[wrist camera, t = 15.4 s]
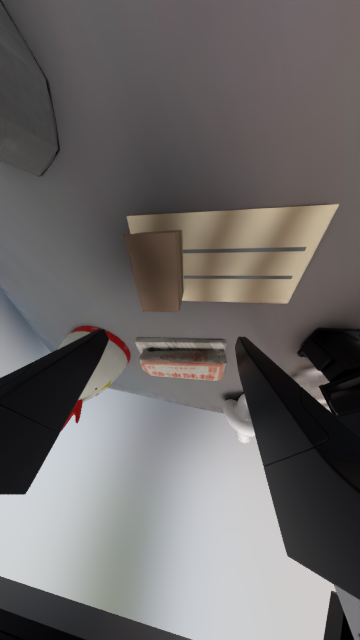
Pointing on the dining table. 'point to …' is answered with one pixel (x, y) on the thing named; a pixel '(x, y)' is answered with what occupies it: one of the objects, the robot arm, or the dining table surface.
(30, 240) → the dining table surface
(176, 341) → the packaged product
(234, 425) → the white knot sculpture
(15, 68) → the coffeepot
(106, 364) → the kitchen timer
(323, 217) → the board
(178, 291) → the block
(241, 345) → the robot arm
